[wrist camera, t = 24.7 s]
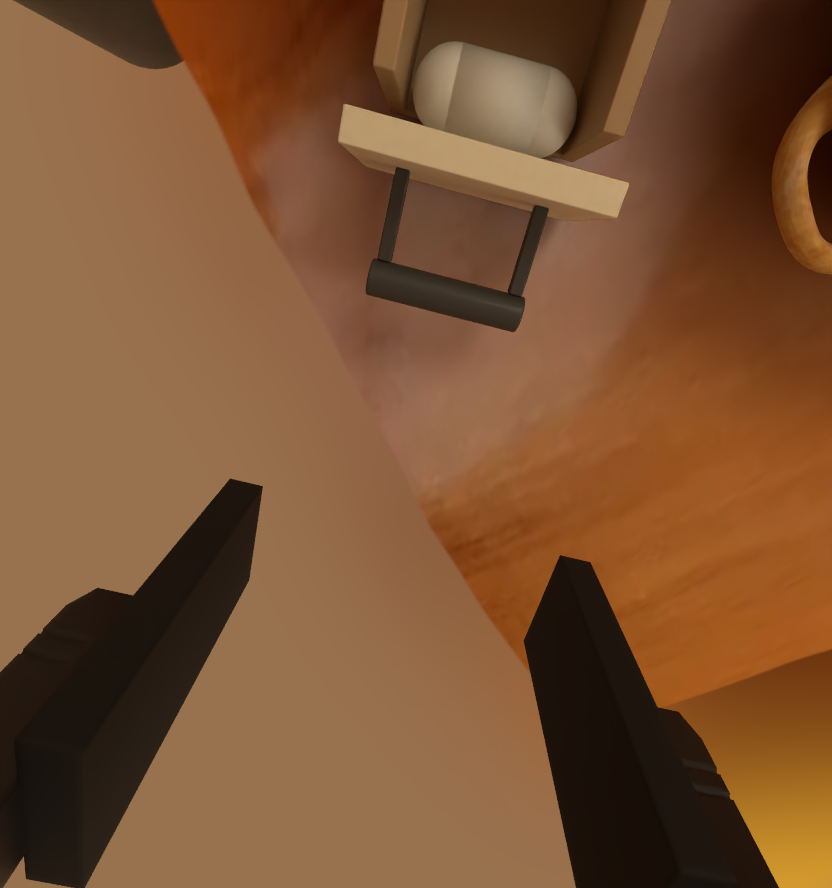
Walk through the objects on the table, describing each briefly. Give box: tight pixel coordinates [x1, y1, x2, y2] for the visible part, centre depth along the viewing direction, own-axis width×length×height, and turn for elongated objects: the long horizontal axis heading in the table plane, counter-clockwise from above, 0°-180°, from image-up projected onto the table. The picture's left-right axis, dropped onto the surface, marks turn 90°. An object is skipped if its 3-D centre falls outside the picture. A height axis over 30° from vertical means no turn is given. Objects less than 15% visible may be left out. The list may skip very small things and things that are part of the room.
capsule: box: [413, 41, 577, 159], centre depth 22 cm, size 7×3×3 cm
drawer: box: [338, 0, 672, 332], centre depth 21 cm, size 18×10×8 cm, turn 166°
